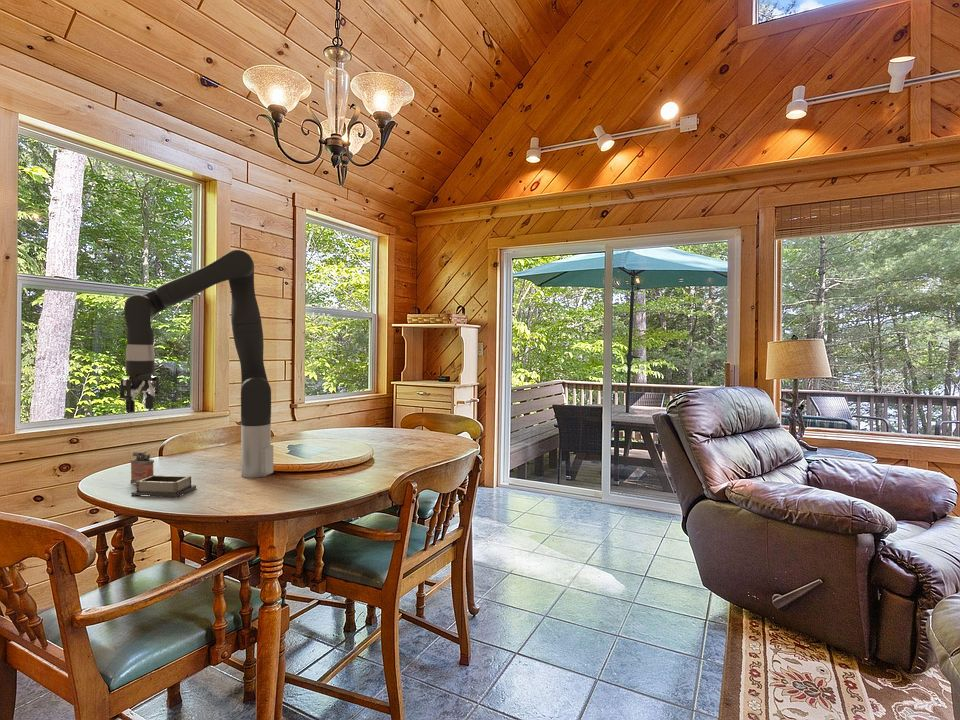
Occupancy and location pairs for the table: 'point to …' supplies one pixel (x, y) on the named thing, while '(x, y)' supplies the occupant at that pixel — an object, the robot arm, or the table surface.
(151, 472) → the lighter
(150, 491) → the rectangular tray
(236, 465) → the table surface
